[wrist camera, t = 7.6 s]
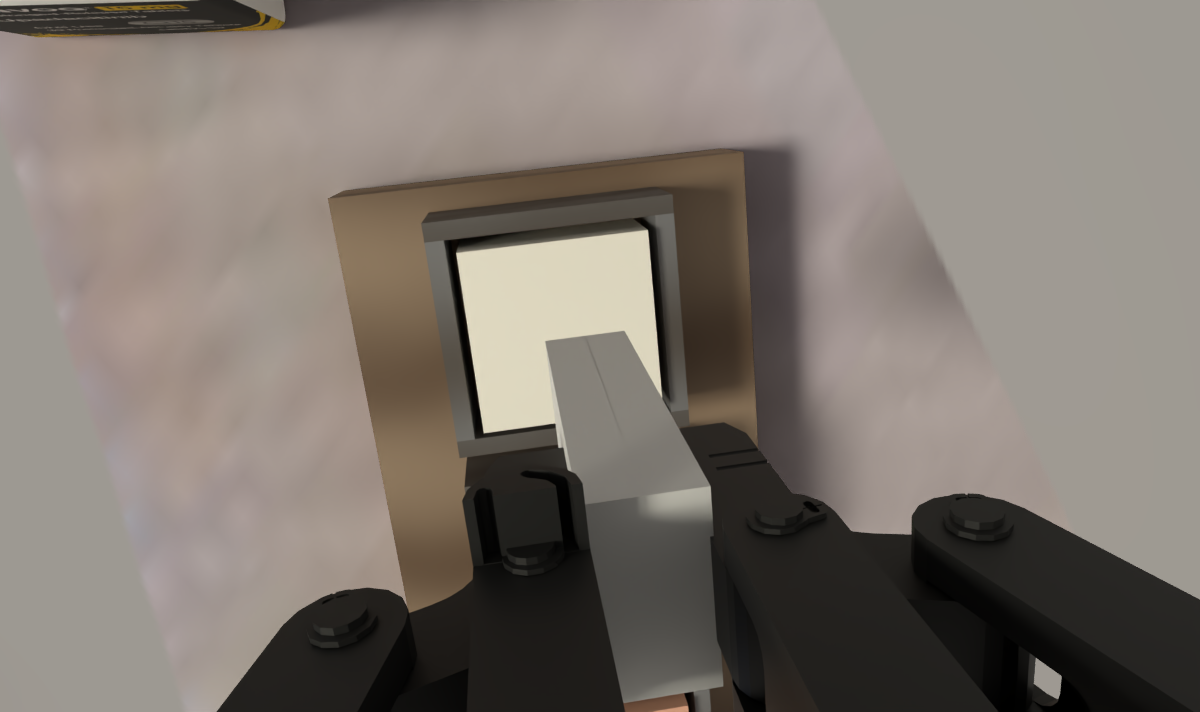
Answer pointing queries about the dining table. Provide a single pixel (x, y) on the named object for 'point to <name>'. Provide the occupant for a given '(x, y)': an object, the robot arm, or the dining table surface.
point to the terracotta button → (659, 704)
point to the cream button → (550, 308)
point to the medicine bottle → (137, 16)
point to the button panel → (441, 340)
